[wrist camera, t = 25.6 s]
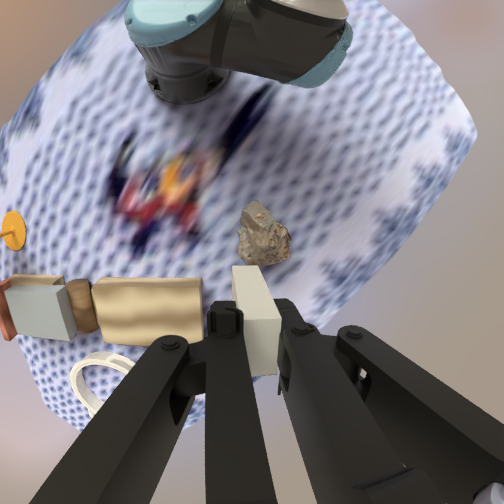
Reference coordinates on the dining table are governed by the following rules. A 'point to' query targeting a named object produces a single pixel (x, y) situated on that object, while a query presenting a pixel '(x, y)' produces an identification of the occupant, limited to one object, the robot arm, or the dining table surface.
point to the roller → (82, 305)
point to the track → (129, 307)
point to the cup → (13, 230)
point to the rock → (262, 237)
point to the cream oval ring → (96, 359)
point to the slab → (41, 311)
